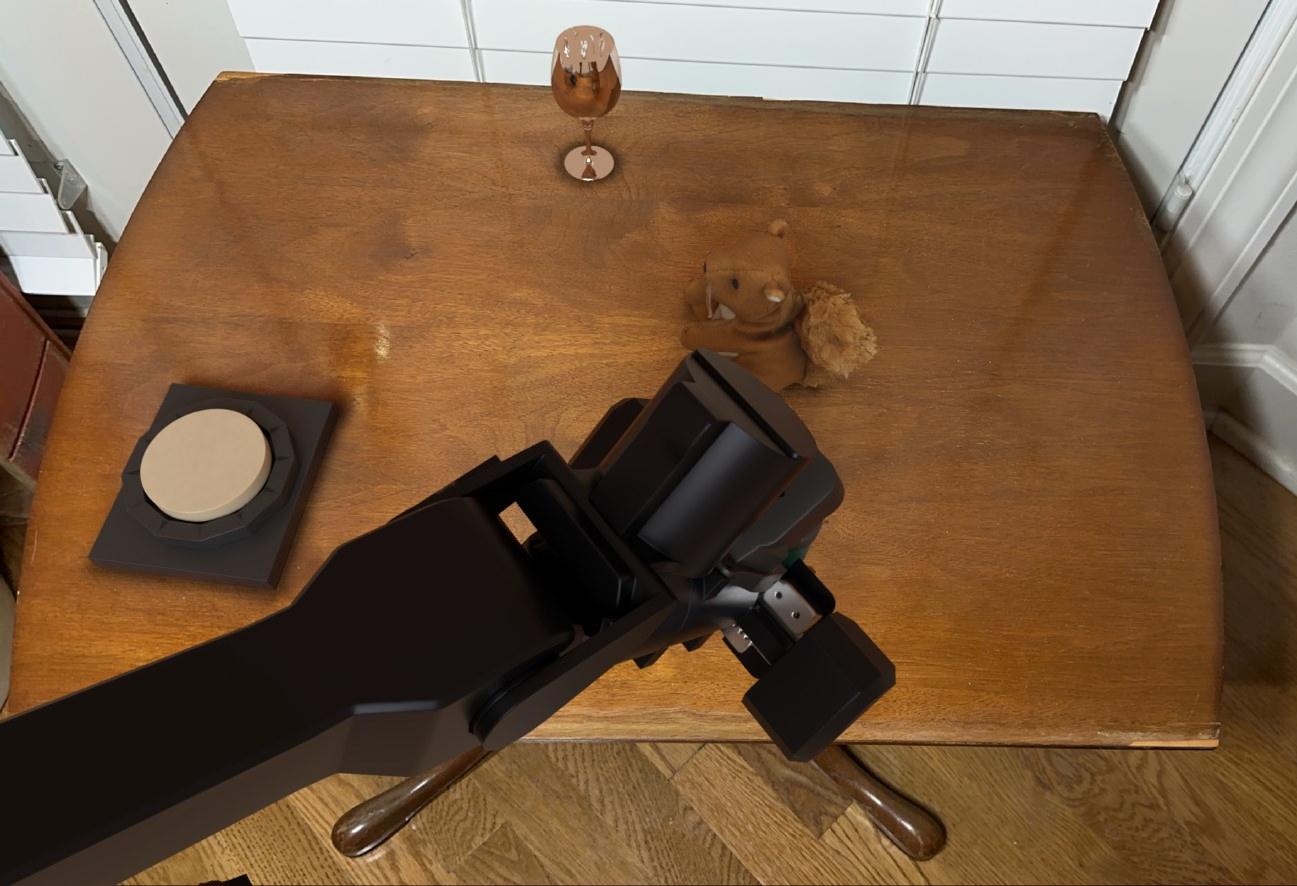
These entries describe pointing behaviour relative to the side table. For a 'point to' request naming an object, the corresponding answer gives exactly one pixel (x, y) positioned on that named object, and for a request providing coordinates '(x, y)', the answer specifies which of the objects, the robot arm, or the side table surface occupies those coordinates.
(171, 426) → the pad disc
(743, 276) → the stuffed squirrel
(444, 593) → the robot arm
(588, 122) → the wineglass
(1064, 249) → the side table surface
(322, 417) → the button base
